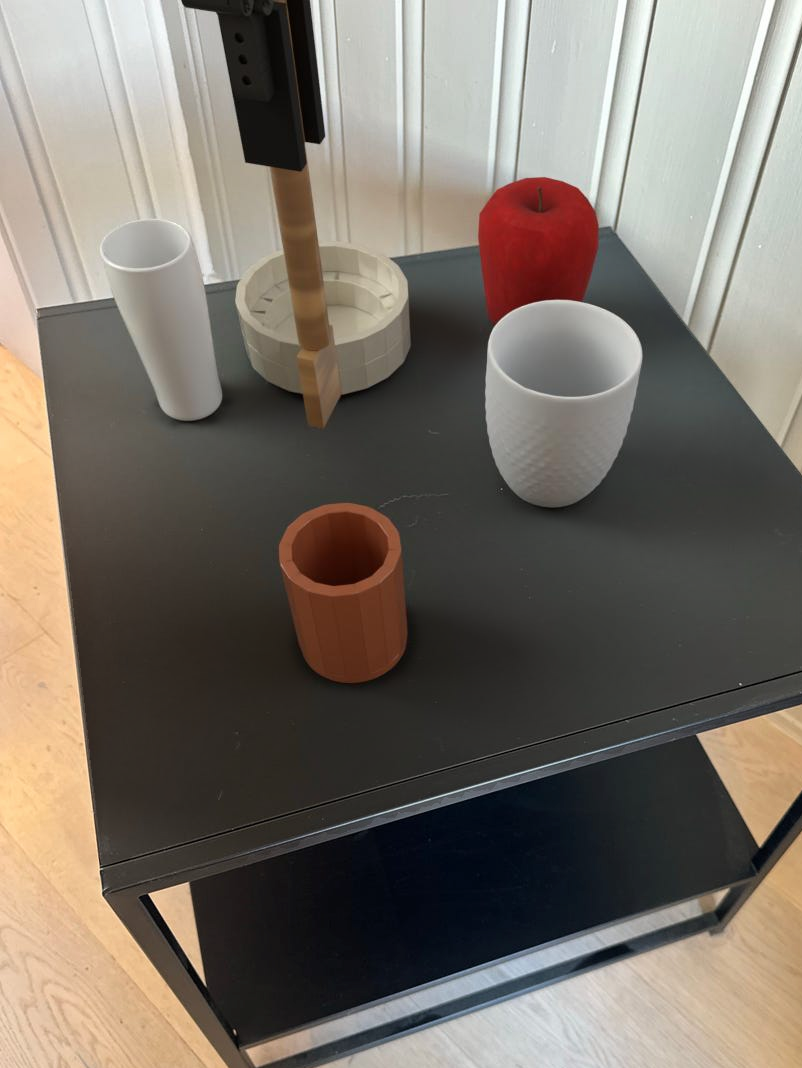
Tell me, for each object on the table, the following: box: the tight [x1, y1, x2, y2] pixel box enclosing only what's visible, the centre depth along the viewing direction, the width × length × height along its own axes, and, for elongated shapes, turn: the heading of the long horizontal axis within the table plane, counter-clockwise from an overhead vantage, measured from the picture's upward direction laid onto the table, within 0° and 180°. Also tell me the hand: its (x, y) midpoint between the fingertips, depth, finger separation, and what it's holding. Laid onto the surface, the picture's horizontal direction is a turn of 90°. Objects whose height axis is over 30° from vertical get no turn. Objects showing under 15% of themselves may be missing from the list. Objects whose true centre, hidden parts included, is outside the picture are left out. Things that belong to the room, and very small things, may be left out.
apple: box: [477, 176, 600, 326], centre depth 83 cm, size 11×10×14 cm
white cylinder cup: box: [99, 218, 223, 422], centre depth 75 cm, size 7×7×15 cm
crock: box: [278, 502, 409, 684], centre depth 64 cm, size 8×8×10 cm
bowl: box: [234, 240, 412, 396], centre depth 83 cm, size 15×15×6 cm
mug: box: [484, 300, 643, 508], centre depth 73 cm, size 15×11×13 cm
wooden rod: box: [268, 0, 342, 429], centre depth 45 cm, size 3×2×27 cm, turn 165°
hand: (285, 148), depth 44 cm, fingers closed on wooden rod, 2 cm apart
